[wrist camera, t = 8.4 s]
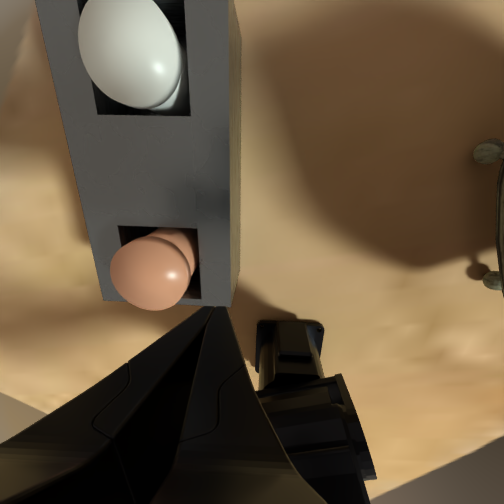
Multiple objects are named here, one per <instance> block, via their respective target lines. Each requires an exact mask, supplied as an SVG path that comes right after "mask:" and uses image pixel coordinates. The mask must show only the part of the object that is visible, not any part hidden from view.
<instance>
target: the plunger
mask: <svg viewBox="0 0 504 504" xmlns="http://www.w3.org/2000/svg"><path fill="white" fill-rule="evenodd" d="M78 43H79V50H80V54H81V58H82V60H83V63H84V66H85V68H86V70H87V72H88V74H89V76H90V77H91V79H92V80H93V82H94V83H95V84H96V85H97V87H98V88H99V89H100V90H101V91H102V92H103V93H105V94H106V95H107V96H109V97H110V98H112V99H113V100H115V101H117V102H120V103H122V104H125V105H128V106H130V107H133V108H137V109H148V110H151V111H153V112H155V113H158V114H160V115H163V116H187V115H188V114H190V113H191V109H190V92H189V75H188V58H187V52H186V51H185V50H184V48H183V47H182V46H181V44H180V43H179V41H178V38H177V35H176V33H175V31H174V29H173V27H172V26H171V24H170V22H169V21H168V20H167V18H166V17H165V15H164V14H163V13H162V11H161V10H160V9H159V7H158V6H157V5H156V3H155V2H154V1H153V0H88V2H87V3H86V4H85V7H84V9H83V11H82V14H81V17H80V21H79V27H78Z"/></svg>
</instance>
